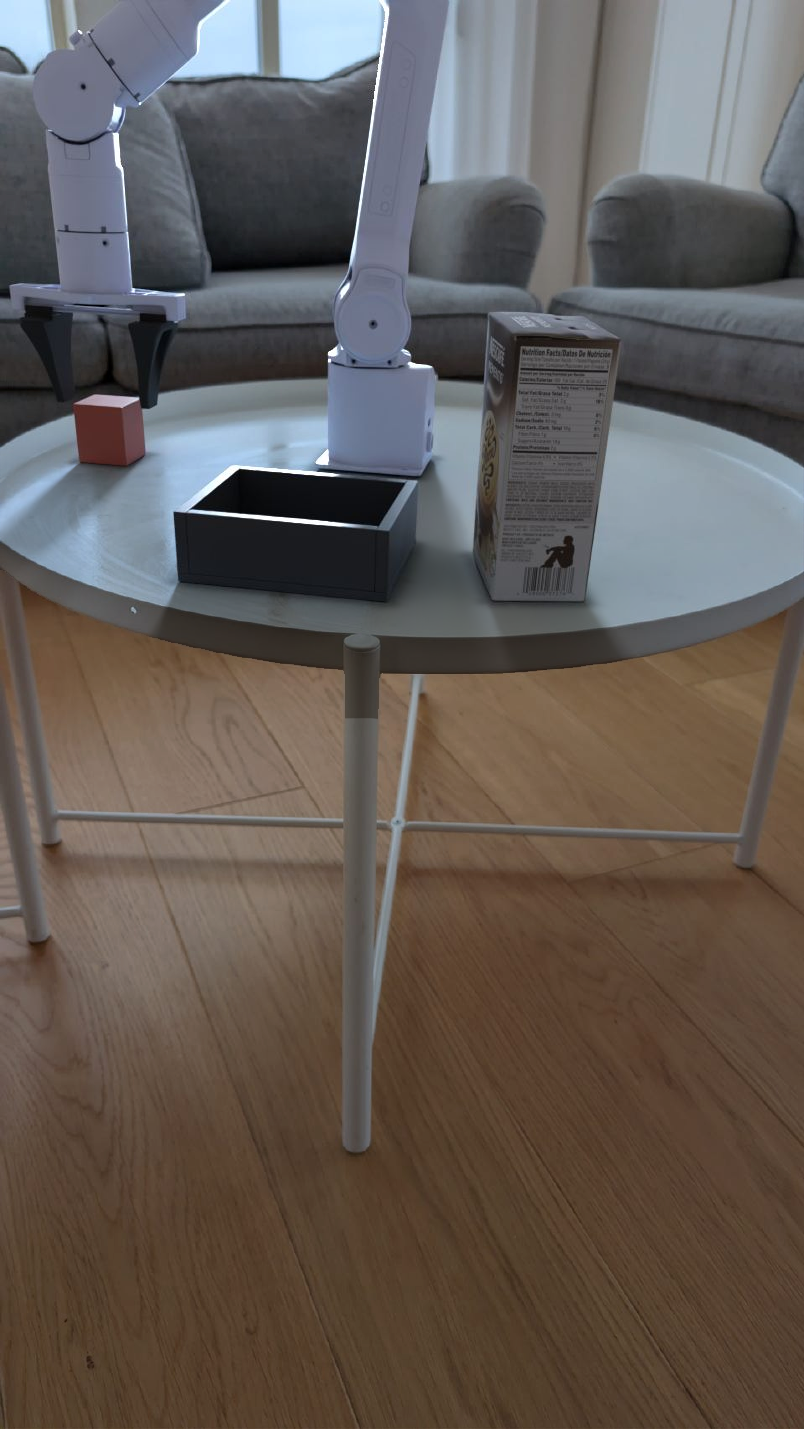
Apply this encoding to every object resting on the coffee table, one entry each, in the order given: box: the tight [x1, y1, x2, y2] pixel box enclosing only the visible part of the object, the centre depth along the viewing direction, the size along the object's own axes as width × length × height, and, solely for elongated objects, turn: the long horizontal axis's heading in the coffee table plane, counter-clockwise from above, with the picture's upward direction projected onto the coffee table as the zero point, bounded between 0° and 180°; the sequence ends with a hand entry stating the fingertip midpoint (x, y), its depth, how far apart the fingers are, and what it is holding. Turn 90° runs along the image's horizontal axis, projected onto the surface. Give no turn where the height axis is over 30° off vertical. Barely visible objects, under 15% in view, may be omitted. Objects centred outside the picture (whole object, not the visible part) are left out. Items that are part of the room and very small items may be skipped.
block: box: [72, 394, 147, 467], centre depth 90 cm, size 4×4×5 cm
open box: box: [172, 464, 419, 603], centre depth 69 cm, size 14×12×5 cm
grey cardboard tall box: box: [472, 311, 622, 602], centre depth 65 cm, size 9×6×16 cm
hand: (107, 403), depth 89 cm, fingers open, 7 cm apart
